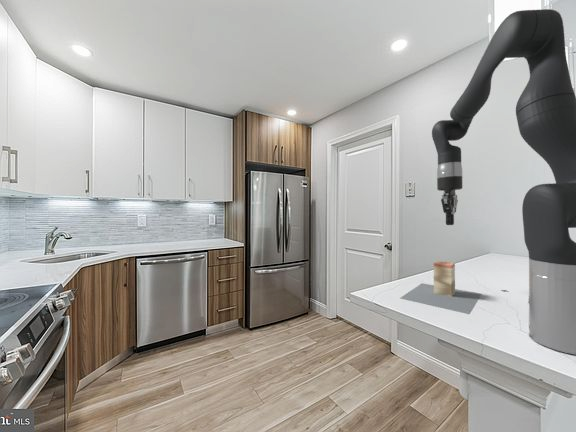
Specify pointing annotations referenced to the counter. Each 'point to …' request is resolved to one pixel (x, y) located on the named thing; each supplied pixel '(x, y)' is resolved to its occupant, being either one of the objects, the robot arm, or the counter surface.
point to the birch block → (444, 278)
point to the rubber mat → (443, 298)
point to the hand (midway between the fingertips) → (449, 224)
